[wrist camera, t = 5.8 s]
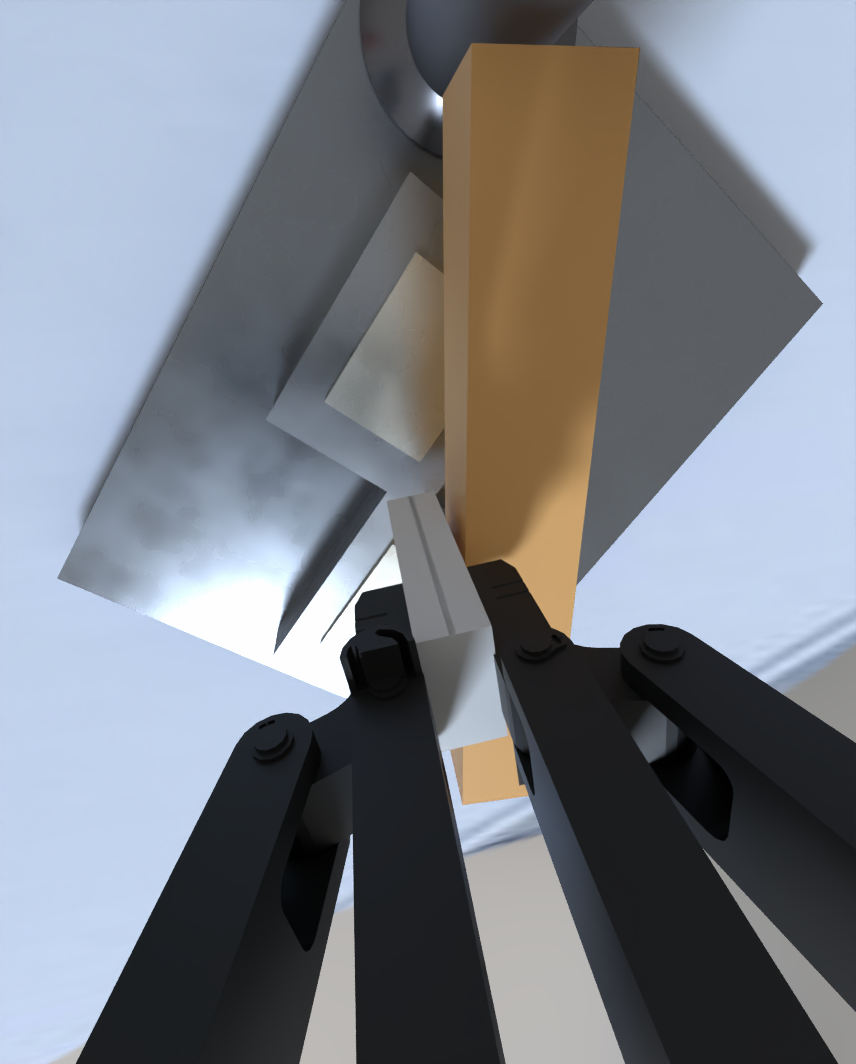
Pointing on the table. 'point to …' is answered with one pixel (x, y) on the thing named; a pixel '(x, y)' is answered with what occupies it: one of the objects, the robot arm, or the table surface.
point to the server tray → (395, 365)
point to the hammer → (523, 290)
